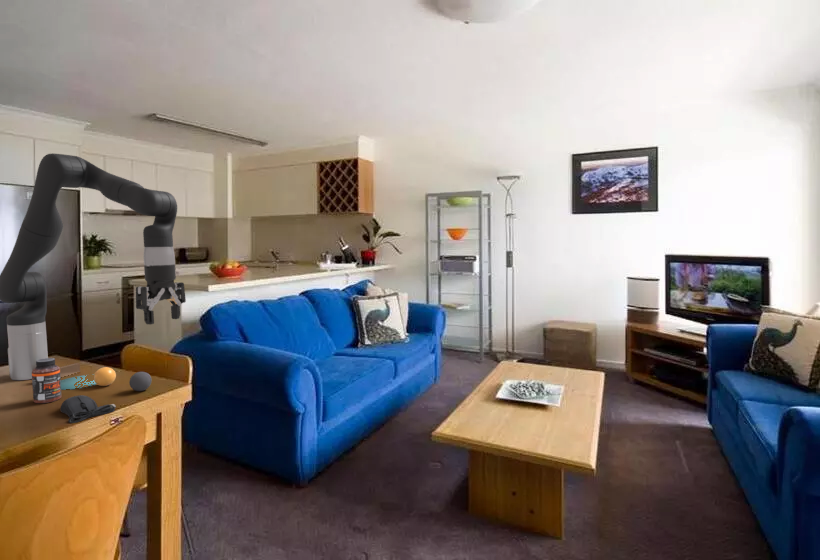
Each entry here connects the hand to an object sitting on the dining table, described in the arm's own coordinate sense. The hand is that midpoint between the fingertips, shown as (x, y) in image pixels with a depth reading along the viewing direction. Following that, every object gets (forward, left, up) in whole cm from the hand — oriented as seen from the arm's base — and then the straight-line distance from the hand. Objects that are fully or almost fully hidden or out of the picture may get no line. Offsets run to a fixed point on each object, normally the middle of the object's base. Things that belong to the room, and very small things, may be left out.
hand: (163, 321), depth 124 cm
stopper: (-45, +1, -21) cm, 49 cm away
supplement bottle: (-27, -14, -21) cm, 37 cm away
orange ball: (-24, 0, -18) cm, 30 cm away
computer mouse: (-10, -16, -22) cm, 29 cm away
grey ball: (-10, 0, -18) cm, 21 cm away
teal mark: (-34, 0, -21) cm, 40 cm away
